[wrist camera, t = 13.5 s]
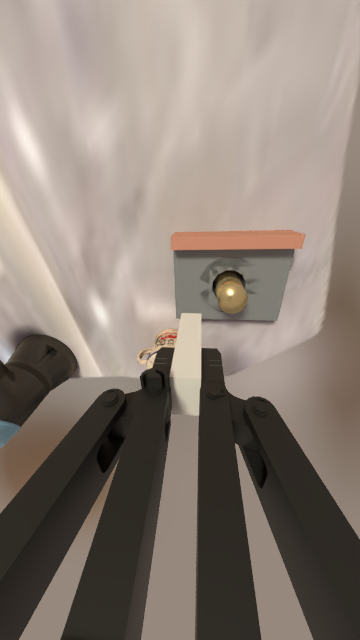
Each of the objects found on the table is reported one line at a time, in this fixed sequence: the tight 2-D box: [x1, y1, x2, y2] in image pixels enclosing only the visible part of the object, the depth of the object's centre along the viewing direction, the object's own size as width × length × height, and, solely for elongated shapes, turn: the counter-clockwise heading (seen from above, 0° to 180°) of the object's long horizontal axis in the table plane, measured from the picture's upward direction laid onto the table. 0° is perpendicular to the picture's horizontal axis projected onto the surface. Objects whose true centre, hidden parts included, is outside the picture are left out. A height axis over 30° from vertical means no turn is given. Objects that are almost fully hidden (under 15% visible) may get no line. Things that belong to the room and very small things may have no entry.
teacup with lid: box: [137, 329, 178, 370], centre depth 44 cm, size 12×9×12 cm
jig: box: [171, 230, 306, 321], centre depth 37 cm, size 20×16×6 cm
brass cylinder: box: [215, 270, 248, 314], centre depth 36 cm, size 5×5×10 cm
